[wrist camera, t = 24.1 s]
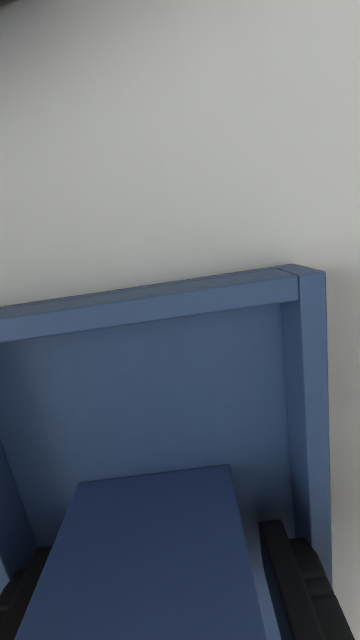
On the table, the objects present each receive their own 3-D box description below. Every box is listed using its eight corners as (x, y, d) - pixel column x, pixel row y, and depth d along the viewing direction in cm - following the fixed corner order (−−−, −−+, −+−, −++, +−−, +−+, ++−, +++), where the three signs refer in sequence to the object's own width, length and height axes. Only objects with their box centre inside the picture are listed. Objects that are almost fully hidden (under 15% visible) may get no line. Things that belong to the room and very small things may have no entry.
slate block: (109, 591, 11) (57, 854, 6) (78, 482, 10) (-17, 710, 5) (243, 576, 11) (292, 836, 6) (229, 463, 10) (276, 682, 5)
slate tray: (82, 685, 14) (66, 760, 12) (-51, 314, 9) (-114, 335, 7) (313, 662, 13) (336, 736, 11) (293, 263, 9) (326, 270, 7)
